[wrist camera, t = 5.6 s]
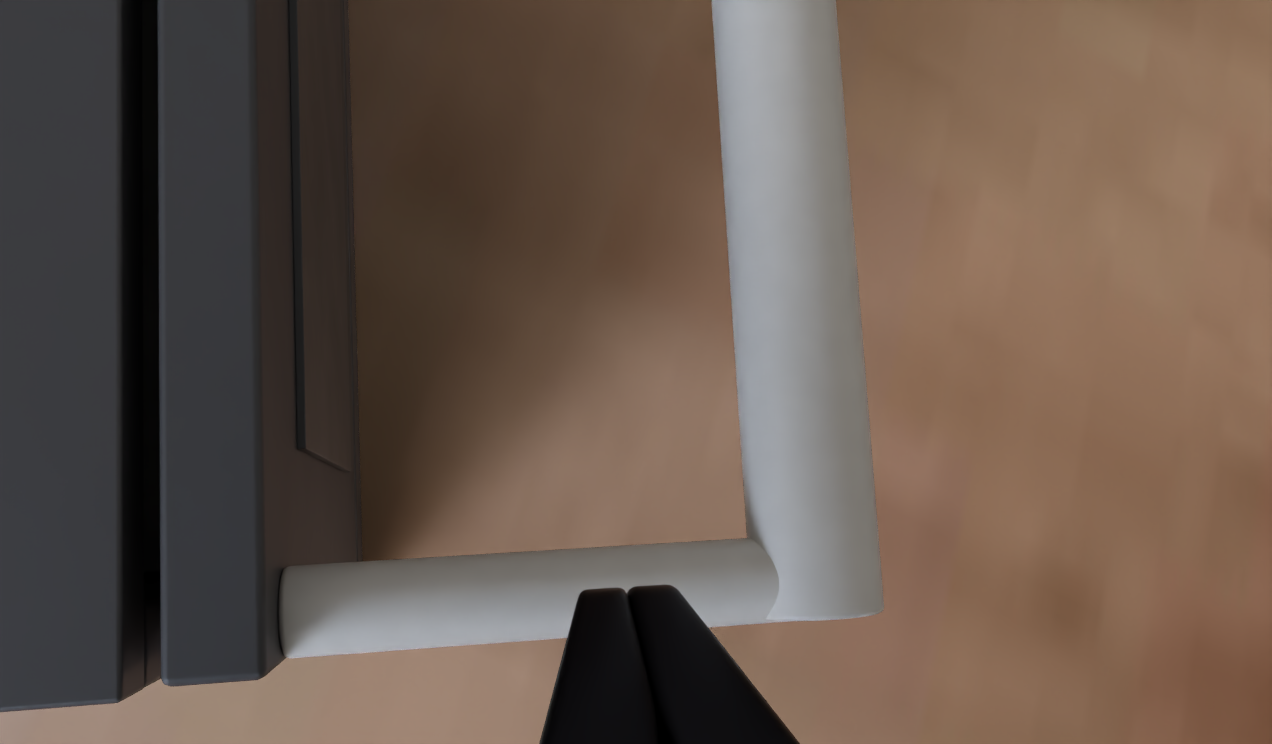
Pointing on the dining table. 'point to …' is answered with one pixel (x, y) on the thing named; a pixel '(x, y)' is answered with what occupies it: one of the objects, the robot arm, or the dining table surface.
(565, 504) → the dining table surface
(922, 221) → the dining table surface
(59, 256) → the oven
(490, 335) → the dining table surface
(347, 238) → the oven door
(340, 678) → the dining table surface
